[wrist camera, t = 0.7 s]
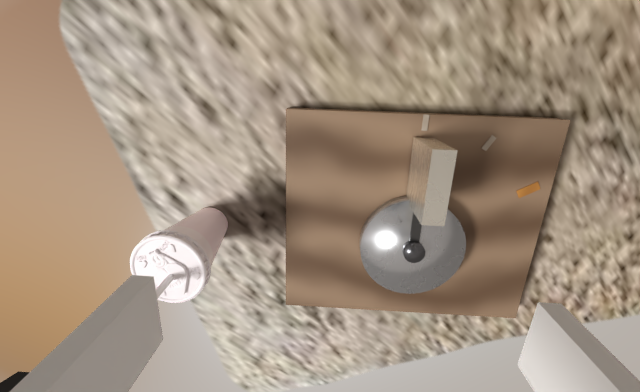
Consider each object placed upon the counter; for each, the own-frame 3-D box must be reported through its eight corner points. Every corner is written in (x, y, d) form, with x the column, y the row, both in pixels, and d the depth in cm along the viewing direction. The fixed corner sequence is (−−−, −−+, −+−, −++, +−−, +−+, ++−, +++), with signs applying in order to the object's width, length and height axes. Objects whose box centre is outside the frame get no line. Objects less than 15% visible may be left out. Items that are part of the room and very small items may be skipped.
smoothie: (204, 258, 37) (130, 355, 23) (170, 211, 35) (69, 288, 22) (251, 234, 35) (201, 322, 22) (218, 184, 34) (142, 248, 21)
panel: (289, 107, 31) (285, 109, 29) (555, 117, 30) (571, 120, 28) (288, 293, 38) (285, 305, 36) (506, 306, 37) (515, 318, 35)
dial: (368, 135, 29) (375, 146, 24) (480, 139, 29) (515, 152, 23) (355, 282, 34) (360, 321, 29) (451, 287, 34) (474, 328, 28)
